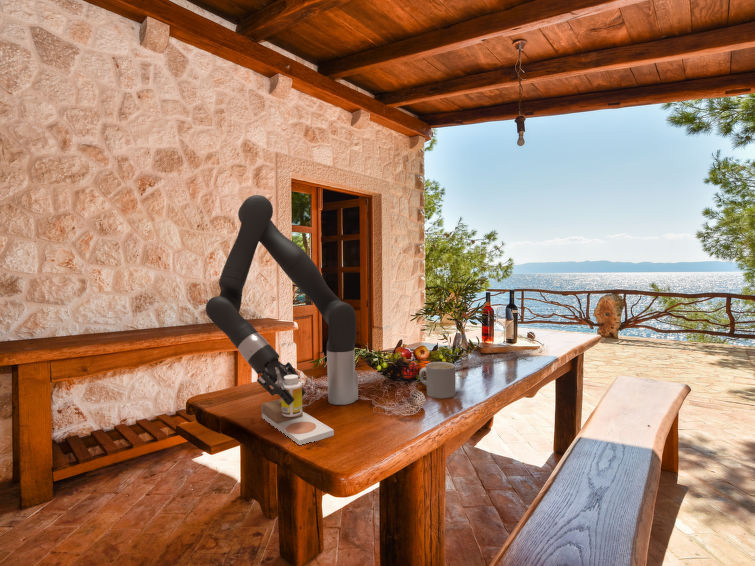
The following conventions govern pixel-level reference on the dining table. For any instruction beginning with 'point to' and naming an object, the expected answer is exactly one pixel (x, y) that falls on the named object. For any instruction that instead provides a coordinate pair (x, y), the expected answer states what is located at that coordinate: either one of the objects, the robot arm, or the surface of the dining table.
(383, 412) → the dining table surface
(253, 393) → the dining table surface
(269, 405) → the cover
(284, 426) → the board
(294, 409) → the supplement bottle
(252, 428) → the dining table surface
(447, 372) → the coffee mug
